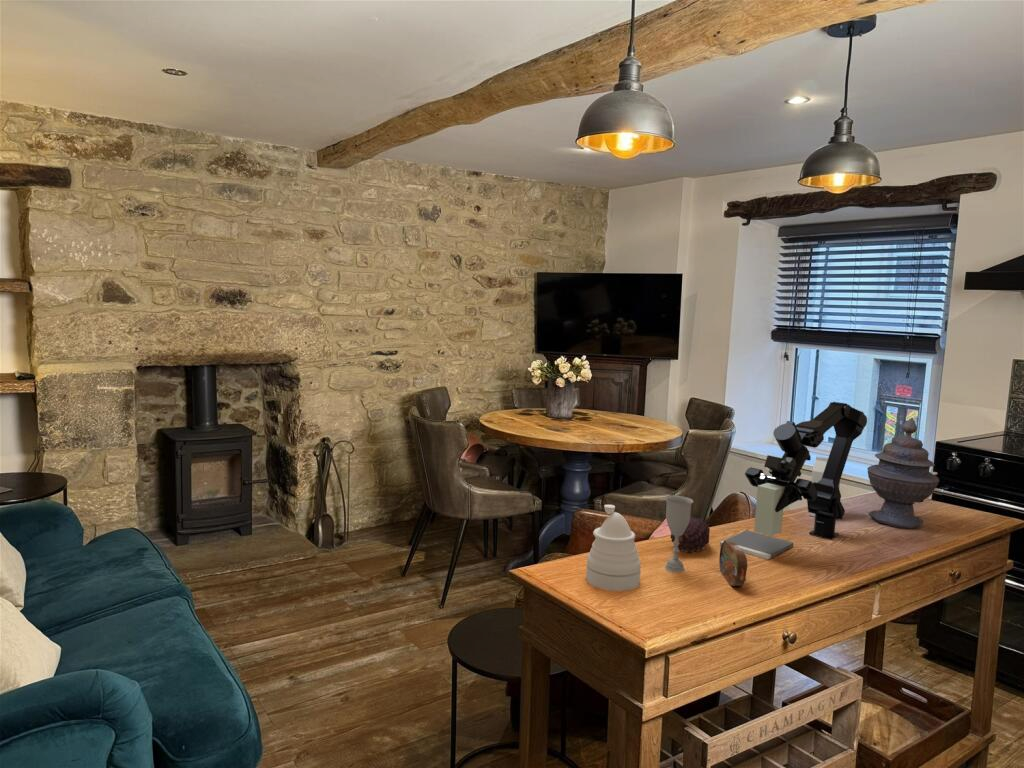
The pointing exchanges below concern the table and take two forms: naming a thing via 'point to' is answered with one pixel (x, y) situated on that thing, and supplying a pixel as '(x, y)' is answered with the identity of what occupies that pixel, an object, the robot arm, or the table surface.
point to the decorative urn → (902, 479)
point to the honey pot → (613, 555)
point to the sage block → (768, 509)
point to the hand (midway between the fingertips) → (766, 508)
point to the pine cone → (693, 536)
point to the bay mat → (759, 544)
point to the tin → (733, 563)
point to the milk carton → (818, 472)
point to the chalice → (677, 526)
